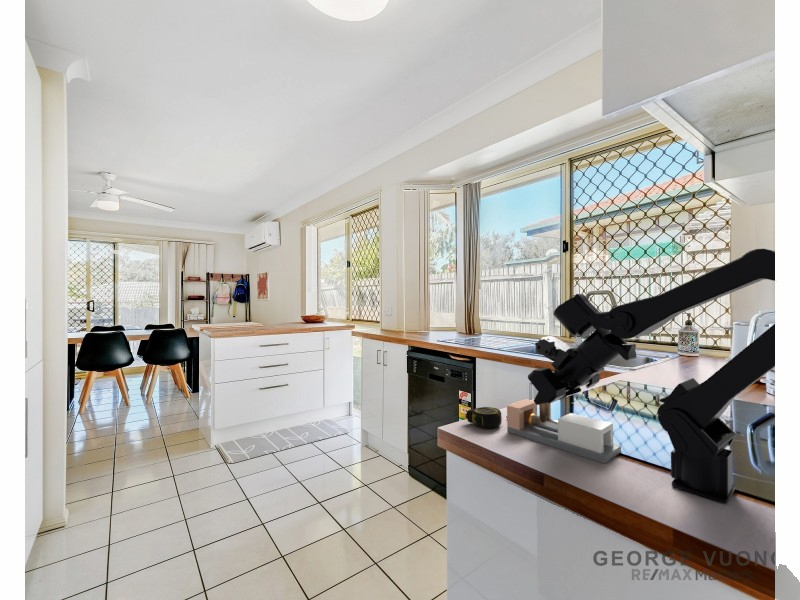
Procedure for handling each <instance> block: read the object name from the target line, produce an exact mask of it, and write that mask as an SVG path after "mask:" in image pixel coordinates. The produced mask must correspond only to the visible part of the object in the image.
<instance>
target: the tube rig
mask: <svg viewBox="0 0 800 600" xmlns="http://www.w3.org/2000/svg"><path fill="white" fill-rule="evenodd" d="M530 413H532V414H535V415H538V405H536V404H535V402H534V400H531V399H527V398H525V399H522V400H518V401H515V402H513V403H510V404H507V405H506V420H507V423H506V424H507V425H506V427H507V433H511V434H513V435H516V436H519V437H522V438H526V439H528V440H532V441H534V442H537V443H541V444H545V445H546V446H550V447H553V448H556V449H559V450H562V451H565V452H568V453H572V454H575V455H578V456H580V457H584V458H587V459H589V460H593V461H596V462H599V463H602V464H606V463H608V462H609V461H610V460H612V459H614V457H616V456H618V455H619V454H620V453H622V445H620V444H616V443H614V423H613V422H609V421H605V420H601V419H597V418H593V417H589V416H585V415H580V414H576V413H573V412H569V413H568V414H565V415H563V416H561V417H559V418H557V421H558V433H555V432H552V431H549V430H545V429H542V428H538V427H535V426H531V425H528V424H527V417H528V415H529V414H530Z"/></svg>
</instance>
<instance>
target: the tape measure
mask: <svg viewBox="0 0 800 600" xmlns="http://www.w3.org/2000/svg"><path fill="white" fill-rule="evenodd" d="M465 418H466V420H467V422H469V423H471V424H473V425H475V426H476V427H478V428H484V429H486V428H487V429H491V428H495V427H496V428H497V427H499V426H501V424H502V420H503V419H502V418H503V417H502V411H501V410H500V409H499V408H497V407H489V406H482V407H476V408H471V409H468V410H466V413H465Z"/></svg>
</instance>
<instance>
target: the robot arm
mask: <svg viewBox="0 0 800 600" xmlns="http://www.w3.org/2000/svg"><path fill="white" fill-rule="evenodd" d="M775 251H776V250H772V249H768V248H755V249H752V250H749V251H748V252H746V253H744V255H742V256H741V257H739V258H738V257H737V258H736V259H734V260H732V261H730V262H727V263H725V264H724V265H721V266H719V267H717V268H715V269H713V270H712V269H711V270H710V271H708V272H706V273H704V274H702V275H699V276H697V277H695V278H693V279H691V280H689V281H687V282H685V283H684V282H683V283H682V284H680V285H678V286H676V287H673V288H672V289H669V290H667V291H665V292H663V293H661V294H657V295H653V296H651V297H645V298H642V299H637V300H634V301H630V302H626V303H623V304H620V305H616V306H614V307H612V308H611V309H610V310H609V311H602V312H601V311H599V310H598V308H596V306H595V305H593V303H591V301H590V300H589V298H587V296H586V295H585V294H583V293H575V295H574V296H573V297H570V298H569V299H567V300H566V301H564V302H563V303H561V304H558V306H557V307H556V308H555V309H554V311H553V314H552V315H553V316H554V317H555V318H556V319H557V321H558V322H559V323H560V324H561V325H562V327H564V328H565V330H567V332H568V333H569V334H570V335H571V336H572V337H573V338H575V337H580V339H581V338H585V339H584V340H583V341H582V342H581V343H579V344H578V346H576V347H572V346H570V345H569V344H568V343H565V342H564V341H562V340H560V339H559V338H557V337H555V336H552V335H549V336H544V337H541V338H539V340H538V341H537V342H535V344H534V346H535V351H536V353H537V354H538V355H542V357H545V358H547V359H548V360H550V361H552V363H550V365H551V366H552V367H553V368H554V371H553V370H552V369H551V368H549V367H539V368H536V369H533V370H532V371H531V372H530V373H529V374H528V375H527V379H528V381H530V383H531V385H533V387H534V388H535V389H536V391H537V393H536V395H535V397H534V398H533V401H534V402H535V404H536V405H537V406H538V405H539V404H543V403H547V402H548V403H551V404H552V403H555V402H557V401H561V400H563V399H566V398H567V397H569V396H572V395H575V394H579V393H581V392H582V388H581V387H583V386H585V387H586V389H590V388H592V387H595V386H596V385H597V384H598V383H599V382H600V374H601V373H602V372H604V371H605V367H607V366H608V365H609V364H610V363H611V362H613V361H614V360H615V359H617V358H618V357H619V356H620V357H622V359H624V361H631V360H636V359H637V351H636V349H637V348H636V347H637V344H636V343H628V342H627V341H626V340H629V339H633V338H639V337H643V336H648V335H650V334H652V333H653V332H655V331H657V330H658V329H659V328H662V327H663V326H664V325H666V324H667V323H668V322H670V321H672V320H673V319H674V318H675V317H677V316H679V315H680V314H682V313H686V312H687V311H690V310H692V309H695V308H698V307H700V306H702V305H705V304H707V303H710V302H713V301H715V300H717V299H719V298H722V297H724V296H727V295H730V294H732V293H734V292H737V291H739V290H741V289H744V288H746V287H749V286H751V285H753V284H756V283H759V282H762V281H764V280H769V281H774V282H776V281H775ZM773 369H775V323H774V324H773V325H771V326H770V327H769V328H767V329H766V330H765V331H764V332H763V333H762V334H761V335H759V336H758V337H757V338H756V339H754V340H753V341H752V342H750V344H748V345H747V346H746V347H744V348H743V349H742V350H741V351H740V352H739V353H737V354H736V355H735V356H734V357H733V358H731V359H730V360H729V361H727V362H726V363H725V364H724V365H723V366H722V367H720V368H719V369H718V370H717V371H716V372H714V373H713V374H711V376H709V377H708V378H707V379H705V381H703V382H700V383H699V382H698V381H697V380H696V379H695V378H694V377H691V378H689V379H687V380H685V381H683V382H679V383H678V384H677V385H676V386H675V387H674V389H673V390H672V391H671V393H670V394H668V395H667V396H664V397H663V398H660V399H659V400H658V401H659V402H661V403H662V404H660V405H659V407H658V409H657V411H656V414H657V419H658V422H659V424H660V426H661V427H662V428H663V430H664V431H666V433H667V435H668V437H669V440H670V442H671V444H672V445H671V446H672V447H673V450H671V452H670V476H671V478H672V479H673V480H672V481H671V486H672V487H673V488H677V489H679V490H683V491H686V492H688V493H692V494H696V495H698V496H701V497H703V498H707V499H711V500H713V501H716V502H720V503H723V504H727V503H729V500H730V499H731V498H732V496H733V493H734V492H735V490H736V485H735V484H733V451H732V450H731V449H726V448H727V447H728V446H731V445H732V444H733V442H734V439H735V438H736V436H737V434H736V432H735V431H734V430H733V429H732V428H730V426H729V425H728V424H727V423H725V421H723V420H722V419H721V418H720V417H721V416H722V415H723V414H724V413H725V411H726V410H727V409H728V408H729V406H730V405H731V403H732V402H733V400H735V398H736V397H737V396H739V395H740V394H741V393H743V392H744V391H745V390H746V389H748V388H749V387H750V386H751V385H753V384H754V383H756V382H757V381H758V380H759V379H761V378H762V377H764V376H765V375H766V374H767V373H769V372H770V371H771V370H773Z"/></svg>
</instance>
